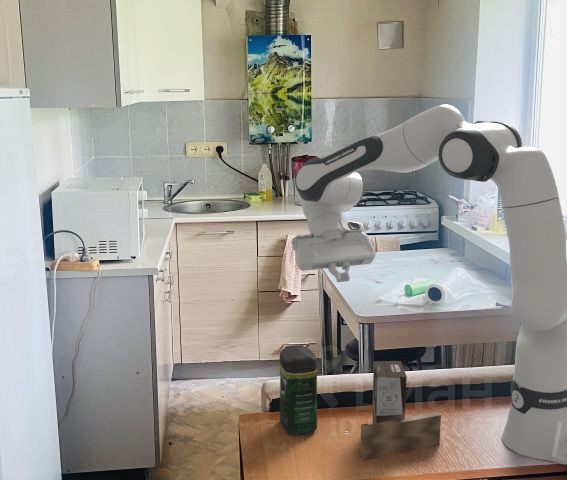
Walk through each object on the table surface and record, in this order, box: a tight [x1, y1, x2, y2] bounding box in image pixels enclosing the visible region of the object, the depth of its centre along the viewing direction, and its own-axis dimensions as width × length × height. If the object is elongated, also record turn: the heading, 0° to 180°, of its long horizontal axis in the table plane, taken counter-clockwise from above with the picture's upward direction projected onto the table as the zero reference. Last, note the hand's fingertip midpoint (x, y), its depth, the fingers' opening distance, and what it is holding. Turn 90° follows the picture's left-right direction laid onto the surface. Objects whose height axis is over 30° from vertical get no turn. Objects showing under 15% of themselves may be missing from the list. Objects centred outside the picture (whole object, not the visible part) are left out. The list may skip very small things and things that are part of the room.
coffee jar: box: [279, 344, 318, 437], centre depth 154 cm, size 10×8×19 cm
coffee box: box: [371, 360, 408, 424], centre depth 149 cm, size 9×6×16 cm
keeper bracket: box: [360, 411, 442, 461], centre depth 146 cm, size 18×6×7 cm, turn 109°
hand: (343, 280), depth 166 cm, fingers closed
